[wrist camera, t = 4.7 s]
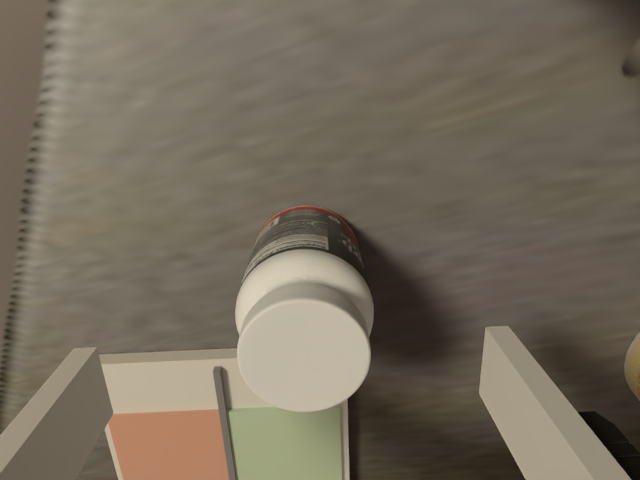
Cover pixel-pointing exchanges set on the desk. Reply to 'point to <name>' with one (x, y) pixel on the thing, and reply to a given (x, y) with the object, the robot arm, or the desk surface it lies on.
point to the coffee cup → (633, 366)
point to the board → (213, 423)
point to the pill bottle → (304, 312)
